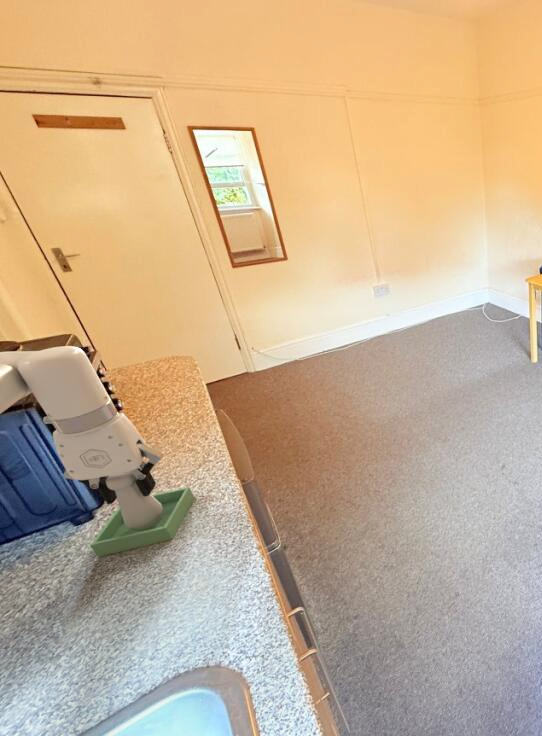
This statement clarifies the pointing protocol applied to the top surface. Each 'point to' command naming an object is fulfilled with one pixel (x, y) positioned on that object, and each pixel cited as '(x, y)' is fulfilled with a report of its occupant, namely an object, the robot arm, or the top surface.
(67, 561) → the top surface
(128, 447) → the robot arm
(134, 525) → the salt shaker
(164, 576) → the top surface
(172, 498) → the tray
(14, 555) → the top surface
